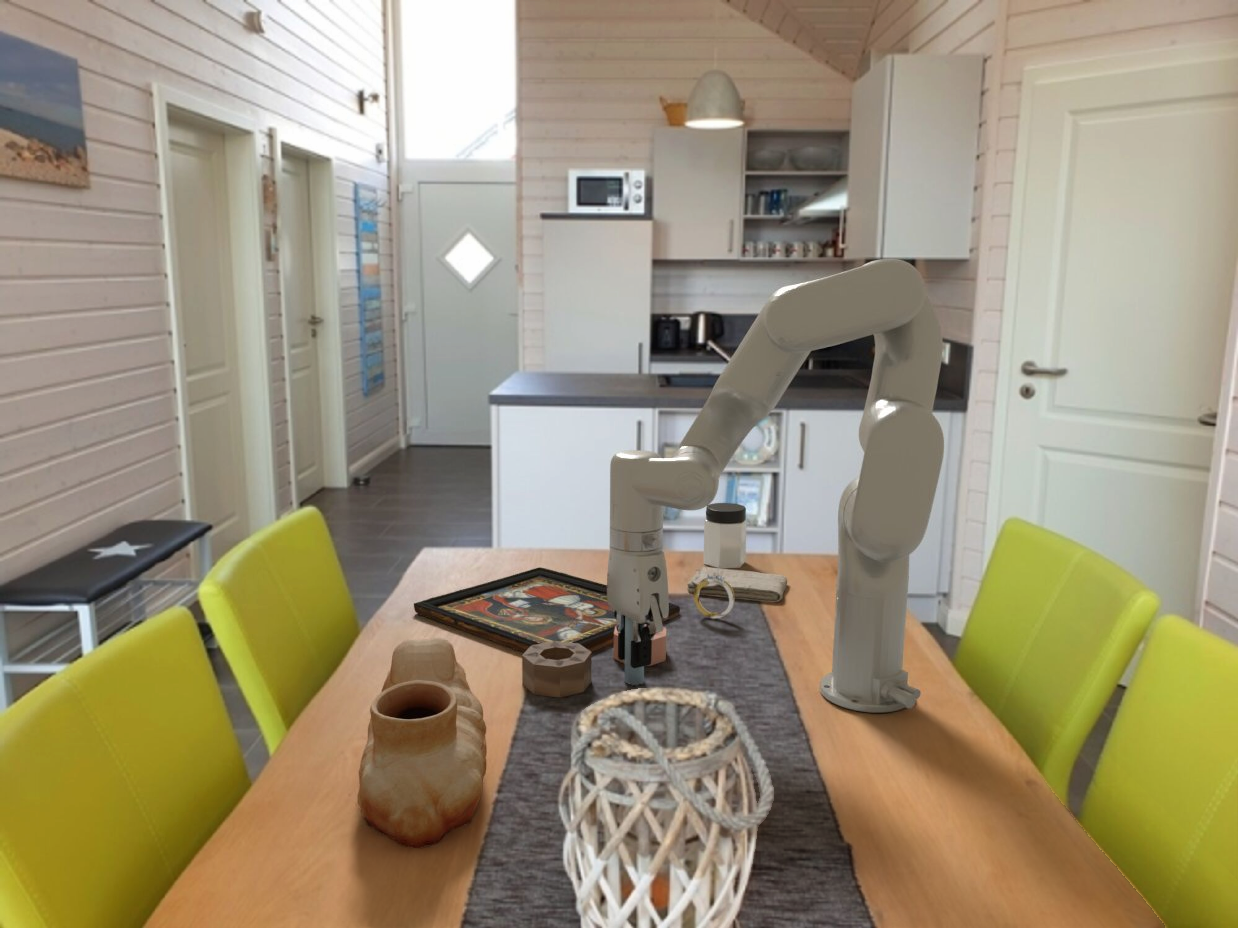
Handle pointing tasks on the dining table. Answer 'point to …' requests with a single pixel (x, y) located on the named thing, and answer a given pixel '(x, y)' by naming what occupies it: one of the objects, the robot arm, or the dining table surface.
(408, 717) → the ceramic vessel
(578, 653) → the bead
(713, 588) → the washcloth
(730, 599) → the ring
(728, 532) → the jar
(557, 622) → the religious icon
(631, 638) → the dowel
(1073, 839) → the dining table surface
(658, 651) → the pink octagonal nut
